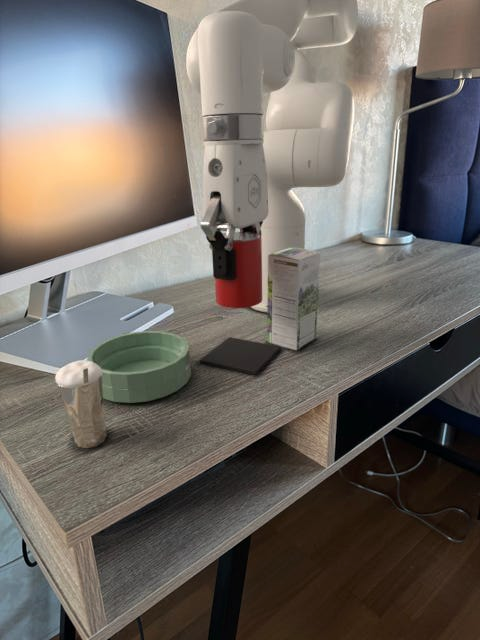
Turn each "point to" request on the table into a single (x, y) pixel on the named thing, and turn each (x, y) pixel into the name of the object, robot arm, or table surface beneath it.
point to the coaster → (241, 355)
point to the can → (243, 274)
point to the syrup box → (292, 297)
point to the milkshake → (83, 401)
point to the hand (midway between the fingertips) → (238, 271)
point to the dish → (142, 365)
